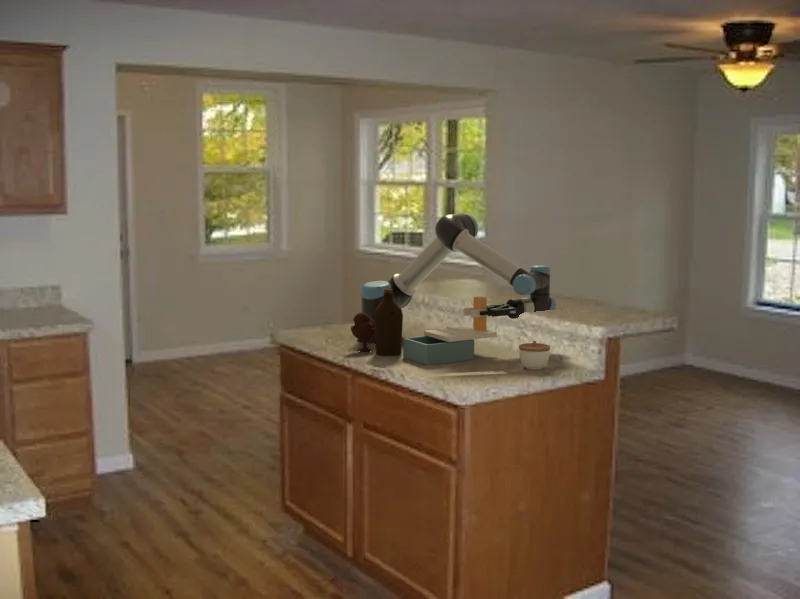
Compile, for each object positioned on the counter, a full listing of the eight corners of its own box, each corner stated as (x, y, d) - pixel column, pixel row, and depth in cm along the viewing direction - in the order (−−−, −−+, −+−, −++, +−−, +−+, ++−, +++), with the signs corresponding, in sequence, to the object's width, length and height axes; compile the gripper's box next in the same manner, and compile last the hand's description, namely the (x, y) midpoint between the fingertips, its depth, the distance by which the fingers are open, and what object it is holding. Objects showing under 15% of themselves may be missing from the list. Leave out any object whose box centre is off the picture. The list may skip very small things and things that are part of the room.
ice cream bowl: (375, 354, 335) (375, 314, 333) (347, 353, 338) (346, 314, 336) (382, 349, 346) (381, 310, 344) (354, 348, 348) (353, 310, 346)
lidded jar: (531, 363, 319) (532, 337, 317) (556, 367, 311) (556, 341, 310) (512, 367, 311) (512, 341, 310) (536, 372, 304) (537, 345, 302)
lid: (423, 335, 329) (423, 298, 327) (470, 330, 339) (470, 294, 337) (449, 342, 314) (449, 303, 313) (496, 336, 325) (496, 299, 323)
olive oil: (408, 355, 333) (408, 288, 329) (389, 360, 325) (389, 291, 321) (387, 352, 339) (387, 286, 336) (368, 356, 331) (367, 289, 328)
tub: (403, 360, 325) (403, 338, 324) (449, 354, 335) (449, 333, 334) (426, 367, 311) (426, 345, 310) (474, 361, 321) (474, 339, 320)
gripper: (533, 321, 332) (481, 326, 320) (505, 315, 347) (454, 319, 335) (533, 301, 331) (481, 305, 319) (505, 295, 346) (454, 299, 334)
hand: (467, 312), depth 327 cm, fingers closed on lid, 4 cm apart
